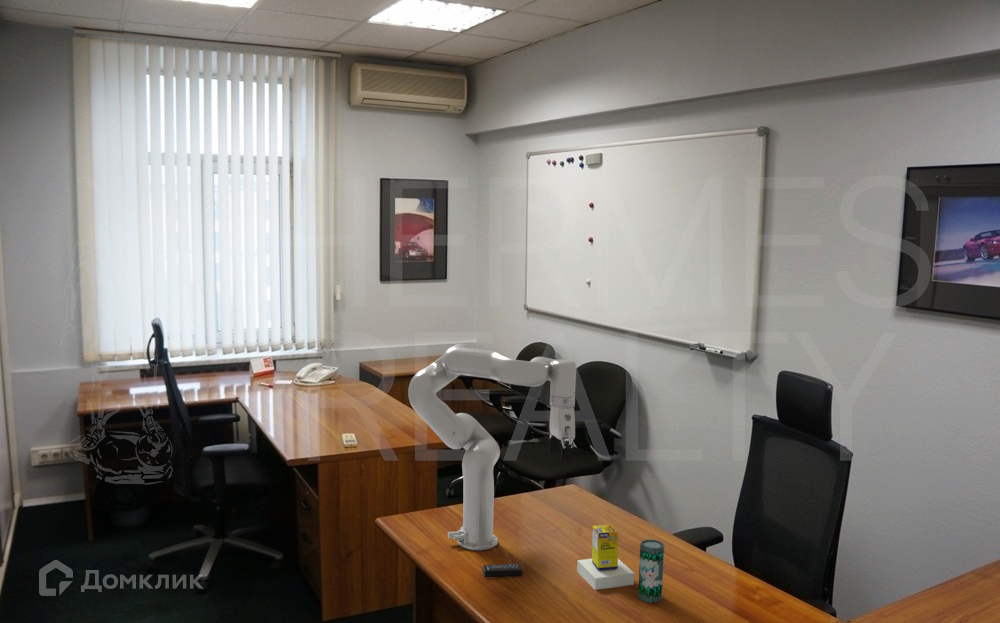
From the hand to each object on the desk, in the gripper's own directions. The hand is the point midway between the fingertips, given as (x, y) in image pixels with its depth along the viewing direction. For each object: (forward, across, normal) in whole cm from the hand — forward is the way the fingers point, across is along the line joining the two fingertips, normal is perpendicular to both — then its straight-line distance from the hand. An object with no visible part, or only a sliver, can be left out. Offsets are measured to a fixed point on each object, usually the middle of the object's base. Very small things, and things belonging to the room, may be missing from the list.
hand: (560, 455), depth 233 cm
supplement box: (+27, -21, -7) cm, 34 cm away
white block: (+31, -21, -7) cm, 38 cm away
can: (+30, -35, -14) cm, 48 cm away
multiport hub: (+31, -11, +21) cm, 39 cm away
